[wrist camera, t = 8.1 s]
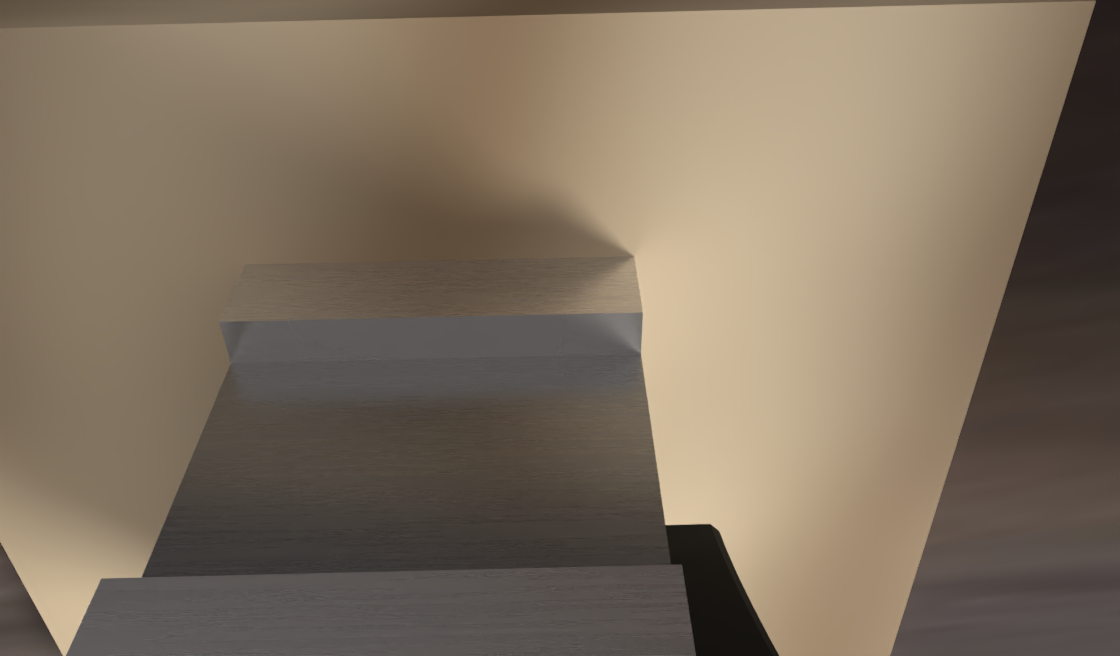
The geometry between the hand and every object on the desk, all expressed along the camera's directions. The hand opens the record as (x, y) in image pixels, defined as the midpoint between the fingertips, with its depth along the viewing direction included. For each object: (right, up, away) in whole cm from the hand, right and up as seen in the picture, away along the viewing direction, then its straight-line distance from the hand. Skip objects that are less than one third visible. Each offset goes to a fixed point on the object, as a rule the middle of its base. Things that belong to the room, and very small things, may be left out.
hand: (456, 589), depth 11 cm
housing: (0, +1, +1) cm, 1 cm away
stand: (0, +2, +2) cm, 3 cm away
